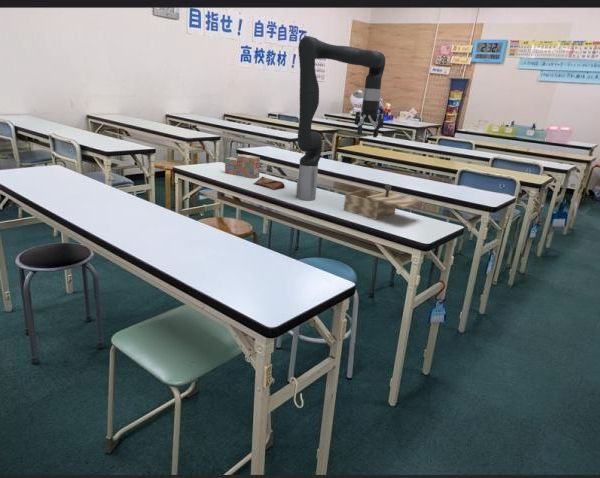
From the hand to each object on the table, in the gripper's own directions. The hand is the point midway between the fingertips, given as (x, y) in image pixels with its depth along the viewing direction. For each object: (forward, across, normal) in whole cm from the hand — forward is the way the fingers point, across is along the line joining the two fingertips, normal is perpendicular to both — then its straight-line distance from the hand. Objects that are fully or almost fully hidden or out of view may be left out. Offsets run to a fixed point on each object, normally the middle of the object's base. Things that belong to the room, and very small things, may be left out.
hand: (367, 136), depth 203 cm
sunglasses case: (+35, -56, -9) cm, 67 cm away
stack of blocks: (+34, -85, -4) cm, 92 cm away
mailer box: (+34, +8, -3) cm, 35 cm away
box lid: (+26, +20, -3) cm, 33 cm away
